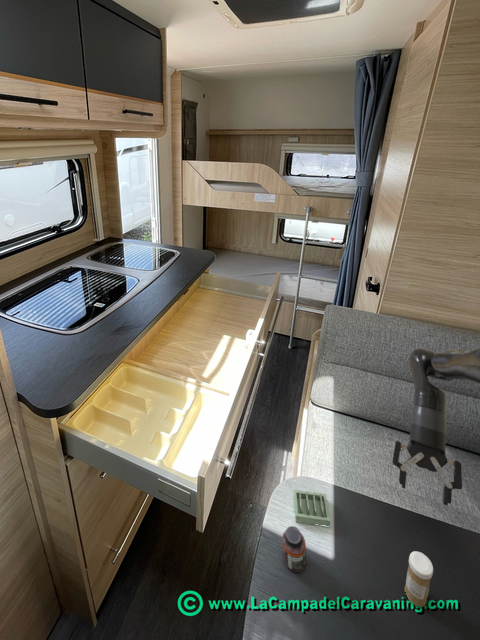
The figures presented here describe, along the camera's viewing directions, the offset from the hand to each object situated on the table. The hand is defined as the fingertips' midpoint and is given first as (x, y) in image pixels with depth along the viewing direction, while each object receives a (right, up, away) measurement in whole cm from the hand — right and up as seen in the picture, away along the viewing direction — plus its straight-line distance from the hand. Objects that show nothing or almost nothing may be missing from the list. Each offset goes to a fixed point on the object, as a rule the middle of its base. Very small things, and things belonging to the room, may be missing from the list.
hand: (423, 495), depth 81 cm
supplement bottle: (-30, -23, +8) cm, 39 cm away
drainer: (-22, -18, +18) cm, 34 cm away
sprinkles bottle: (-3, -23, -2) cm, 23 cm away
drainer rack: (-22, -18, +18) cm, 34 cm away
